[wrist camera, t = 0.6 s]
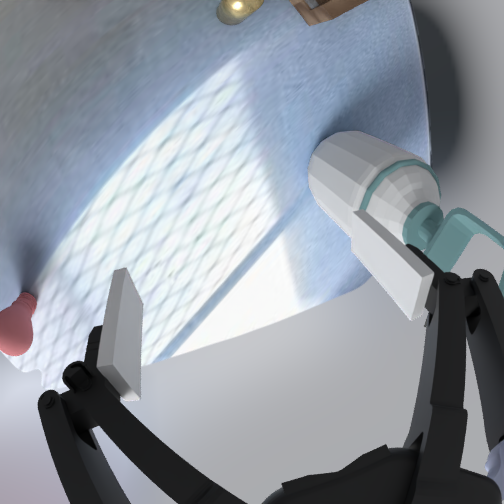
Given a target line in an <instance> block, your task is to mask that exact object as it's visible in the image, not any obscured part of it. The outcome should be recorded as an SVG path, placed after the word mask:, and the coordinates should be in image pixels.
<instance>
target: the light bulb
mask: <svg viewBox="0 0 504 504" xmlns="http://www.w3.org/2000/svg"><path fill="white" fill-rule="evenodd" d="M36 306H37V302H36V299H35V298H34V297H33V296H32V295H31V294H29V293H26V292H24V293H21V294H20V295H19V297H18V298H17V300H16V301H14V302H13V303H12V305H11V306H10V307H8V308H6V309H4V310H2V311H1V312H0V350H1V351H2V352H4V353H5V354H8V355H11V356H19V355H22V354H24V353H25V352H26V351H27V350H28V349H29V348H30V346H31V344H32V341H33V328H32V322H31V317H32V314H34V311H35V309H36Z"/></svg>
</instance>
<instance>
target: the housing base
mask: <svg viewBox="0 0 504 504" xmlns="http://www.w3.org/2000/svg"><path fill="white" fill-rule="evenodd" d="M289 1H290V2H291V3H292V5H293V6H294V7H295V8H296V10H297V11H298V12H299V13H300V15H301V16H302V17H303V18H304V20H305V21H306V22H307V24H308V25H309V26H311V25H315V24H318V23H321V22H325V21H328V20H332V19H334V18H336V17H338V16H340V15H341V14H343V13H345V12H347V11H349V10H351V9H353V8H354V7H356V6H358V5H360V4H362V3H364V2H366V1H368V0H289Z"/></svg>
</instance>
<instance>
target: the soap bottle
mask: <svg viewBox="0 0 504 504" xmlns="http://www.w3.org/2000/svg"><path fill="white" fill-rule="evenodd" d="M308 182H309V188H310V190H311V192H312V194H313V196H314V198H315V200H316V202H317V204H318V206H319V207H320V208H322V209H323V210H324V211H325V212H326V213H327V214H328V215H329V217H330V218H331V219H332V220H333V221H334V222H335V223H336V224H337V225H338V226H339V227H340V228H341V229H342V230H343V231H344V232H345V233H346V234H347V235H348V236H349V237H350V238H352V212H353V211H357V210H361V209H364V210H365V211H366V212H367V213H368V214H370V215H371V216H372V217H373V218H374V219H376V220H377V221H378V222H379V223H380V224H381V225H383V226H384V227H385V228H386V229H387V230H388V231H390V232H391V233H392V234H393V235H394V236H395V237H396V238H397V239H399V240H400V241H401V242H402V243H403V244H404V245H406V244H411V245H413V246H415V247H417V248H418V249H419V250H423V249H426V250H425V251H424V253H423V254H425V255H426V256H427V257H428V258H429V259H430V260H431V261H433V262H434V263H435V264H436V265H437V266H438V267H439V268H440V269H441V270H442V271H443V272H444V273H445V272H450V270H451V269H452V267H453V266H454V265H455V263H456V261H457V260H458V258H459V257H460V255H461V254H462V252H463V251H464V249H465V247H466V246H467V244H468V242H469V241H470V239H471V238H472V237H473V235H474V234H477V233H481V234H485V235H486V236H488V237H489V238H490V239H492V240H493V241H494V242H496V243H497V244H498V245H499V246H501V247H502V248H503V249H504V237H503V236H502V235H501V234H499V233H498V232H497V231H495V230H494V229H493V228H491V227H490V226H488V225H487V224H486V223H484V222H483V221H481V220H480V219H479V218H477V217H476V216H474V215H473V214H471V213H470V212H468V211H467V210H465V209H462V208H456V209H453V210H451V211H450V212H449V213H448V214H447V215H446V217H445V219H443V212H442V210H441V209H440V207H439V206H440V199H441V192H440V186H439V180H438V177H437V176H436V174H435V173H434V171H433V170H432V168H431V167H430V166H429V165H428V164H427V163H426V162H425V161H424V160H423V159H422V158H421V157H419V156H417V155H415V154H413V153H411V152H408V151H406V150H404V149H402V148H400V147H397V146H395V145H393V144H390V143H388V142H386V141H383V140H381V139H379V138H376V137H374V136H371V135H369V134H366V133H363V132H361V131H344V132H337V133H335V134H333V135H331V136H330V137H328V138H326V139H324V140H323V141H321V143H320V144H319V145H318V146H317V148H316V149H315V150H314V152H313V153H312V155H311V159H310V162H309V165H308ZM499 288H500V290H501V292H502V295H503V297H504V271H503V274H502V278H501V280H500V283H499Z"/></svg>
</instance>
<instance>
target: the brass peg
mask: <svg viewBox="0 0 504 504" xmlns="http://www.w3.org/2000/svg"><path fill="white" fill-rule="evenodd" d="M263 2H264V0H222V1H221V2H220V4H219V6H218V8H217V11H216V14H217V17H218V19H219V20H220V21H221V22H222V23H224V24H227V25H237V24H239V23H241V22H242V21H243V20H245V19H246V18H247V17H248V16H249V15H251V14H252V13H253V12H254V11H256V10H257V9H258V8H259V7H260V6H261V5H262V4H263Z"/></svg>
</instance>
